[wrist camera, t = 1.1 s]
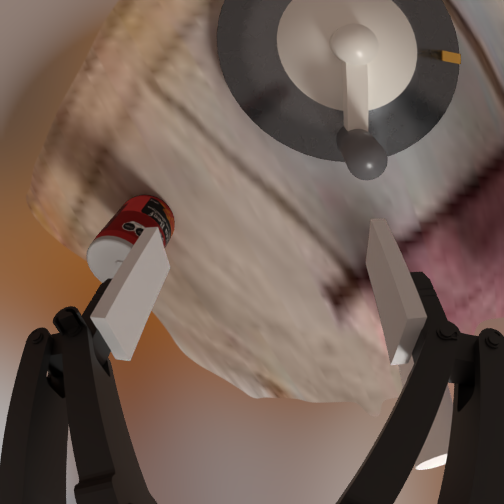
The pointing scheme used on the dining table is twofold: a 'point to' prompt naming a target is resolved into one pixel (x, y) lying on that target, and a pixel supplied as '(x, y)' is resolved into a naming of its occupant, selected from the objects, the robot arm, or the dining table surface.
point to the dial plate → (315, 114)
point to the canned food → (127, 233)
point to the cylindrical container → (433, 428)
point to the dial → (349, 66)
